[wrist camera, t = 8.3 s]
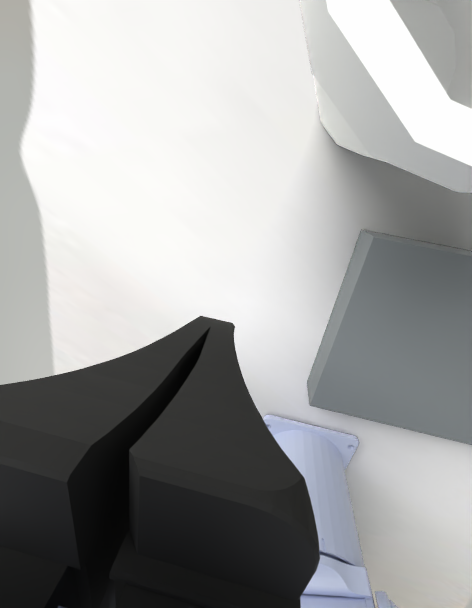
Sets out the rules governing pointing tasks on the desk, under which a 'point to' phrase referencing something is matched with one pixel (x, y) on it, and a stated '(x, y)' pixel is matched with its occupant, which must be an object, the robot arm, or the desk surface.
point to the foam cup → (396, 82)
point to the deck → (400, 338)
